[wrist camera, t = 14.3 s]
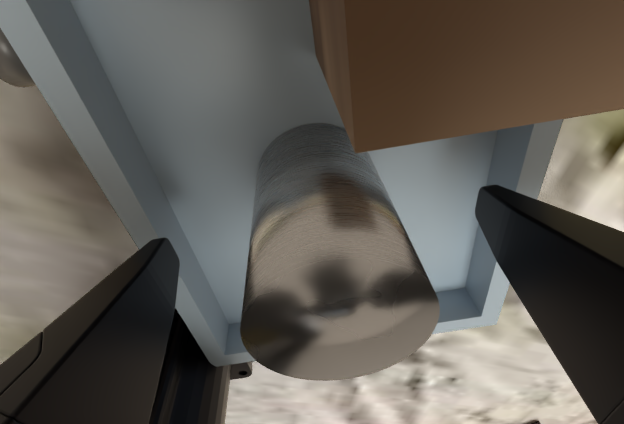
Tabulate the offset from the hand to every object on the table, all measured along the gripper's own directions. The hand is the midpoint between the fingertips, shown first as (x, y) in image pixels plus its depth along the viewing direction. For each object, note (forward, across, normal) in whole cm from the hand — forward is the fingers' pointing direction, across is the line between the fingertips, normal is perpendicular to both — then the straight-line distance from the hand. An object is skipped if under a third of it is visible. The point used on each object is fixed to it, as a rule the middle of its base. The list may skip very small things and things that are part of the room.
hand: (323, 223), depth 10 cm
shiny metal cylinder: (+2, 0, 0) cm, 3 cm away
